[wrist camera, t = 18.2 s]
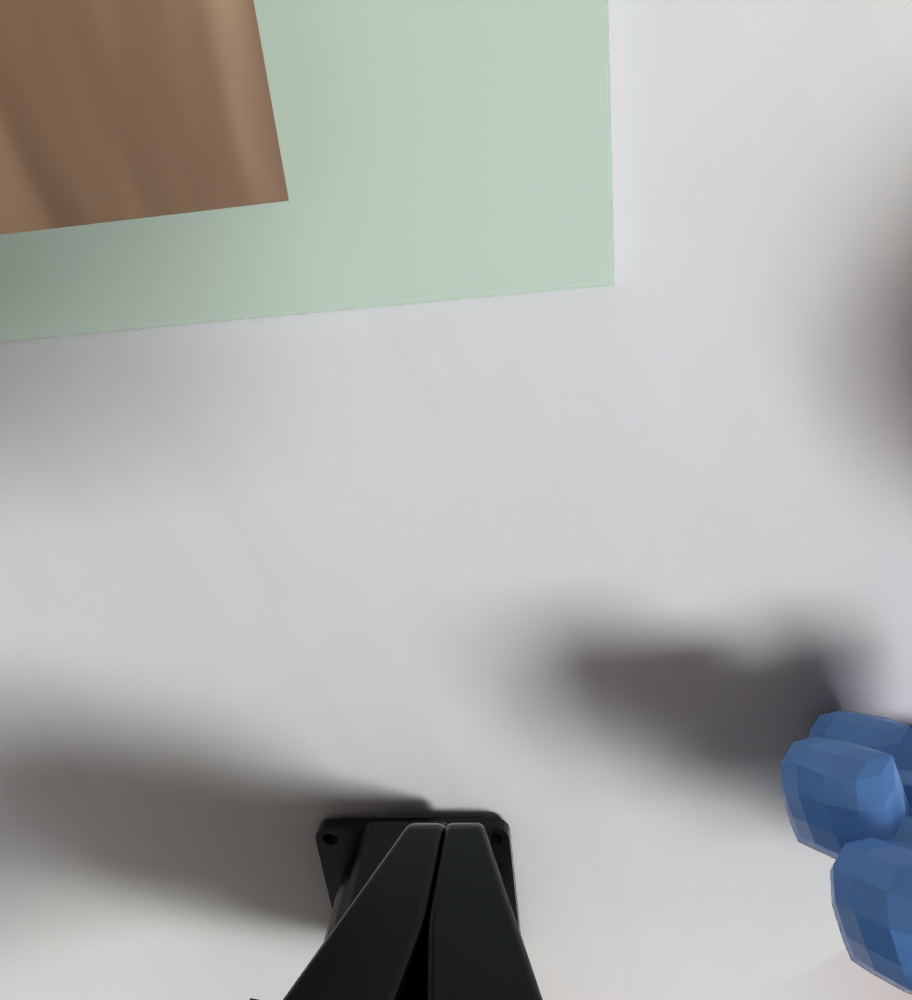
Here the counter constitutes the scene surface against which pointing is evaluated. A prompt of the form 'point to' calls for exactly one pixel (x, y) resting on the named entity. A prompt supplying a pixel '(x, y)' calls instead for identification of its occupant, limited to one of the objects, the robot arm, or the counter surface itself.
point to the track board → (370, 178)
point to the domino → (132, 111)
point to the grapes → (860, 831)
